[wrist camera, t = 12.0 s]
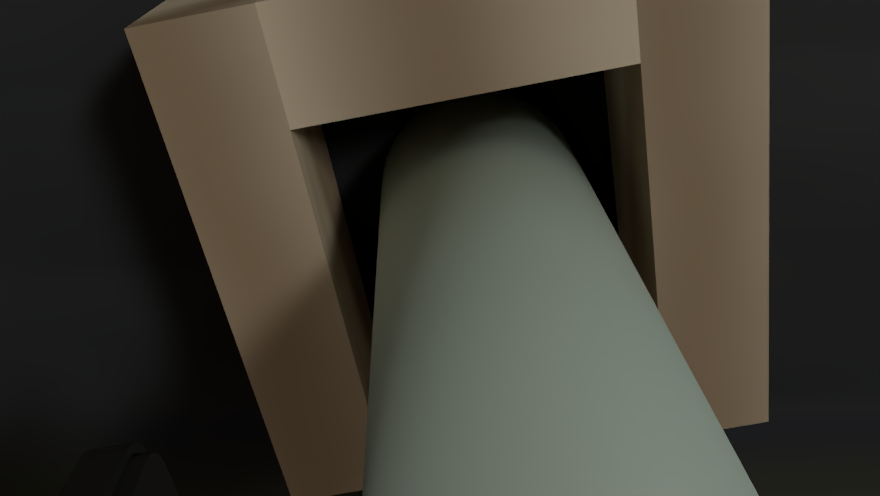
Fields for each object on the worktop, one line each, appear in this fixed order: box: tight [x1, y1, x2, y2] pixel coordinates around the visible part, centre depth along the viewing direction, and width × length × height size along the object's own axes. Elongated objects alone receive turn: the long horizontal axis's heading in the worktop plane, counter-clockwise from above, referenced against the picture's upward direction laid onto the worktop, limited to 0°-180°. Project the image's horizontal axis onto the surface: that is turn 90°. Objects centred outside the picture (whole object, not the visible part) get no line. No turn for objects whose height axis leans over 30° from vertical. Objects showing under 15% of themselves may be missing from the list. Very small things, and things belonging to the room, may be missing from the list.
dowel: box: [362, 92, 759, 496], centre depth 11 cm, size 4×4×12 cm
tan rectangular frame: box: [124, 0, 769, 496], centre depth 15 cm, size 10×10×3 cm
